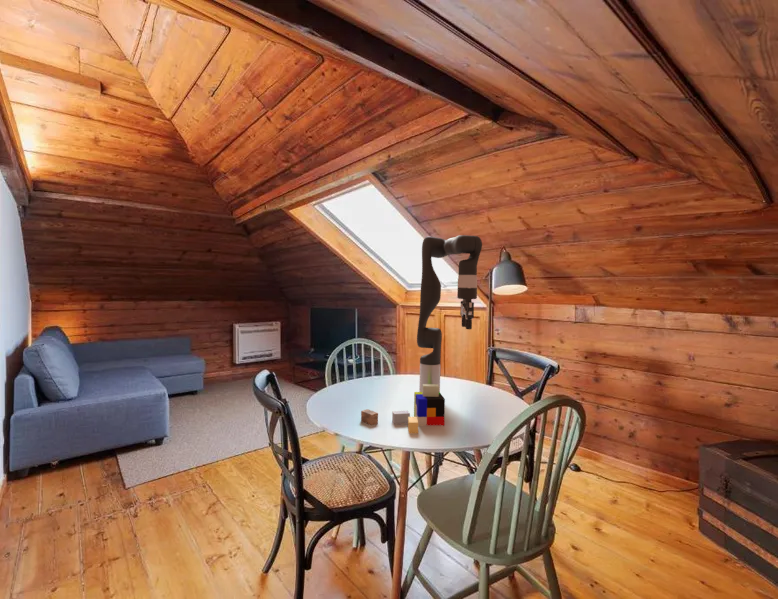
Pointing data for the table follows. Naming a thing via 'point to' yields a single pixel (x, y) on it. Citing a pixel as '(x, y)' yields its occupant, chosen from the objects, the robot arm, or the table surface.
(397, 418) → the slate brick
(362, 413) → the walnut brick
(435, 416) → the puzzle toy
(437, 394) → the cream brick
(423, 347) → the robot arm
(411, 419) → the mustard brick
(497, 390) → the table surface
